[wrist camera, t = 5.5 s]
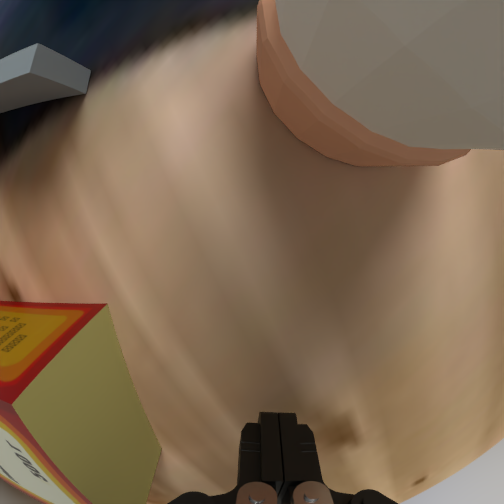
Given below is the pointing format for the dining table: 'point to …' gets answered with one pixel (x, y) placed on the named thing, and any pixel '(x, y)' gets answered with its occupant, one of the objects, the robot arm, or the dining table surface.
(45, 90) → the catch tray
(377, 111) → the pepper shaker
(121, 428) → the baking soda box
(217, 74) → the dining table surface
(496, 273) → the dining table surface
